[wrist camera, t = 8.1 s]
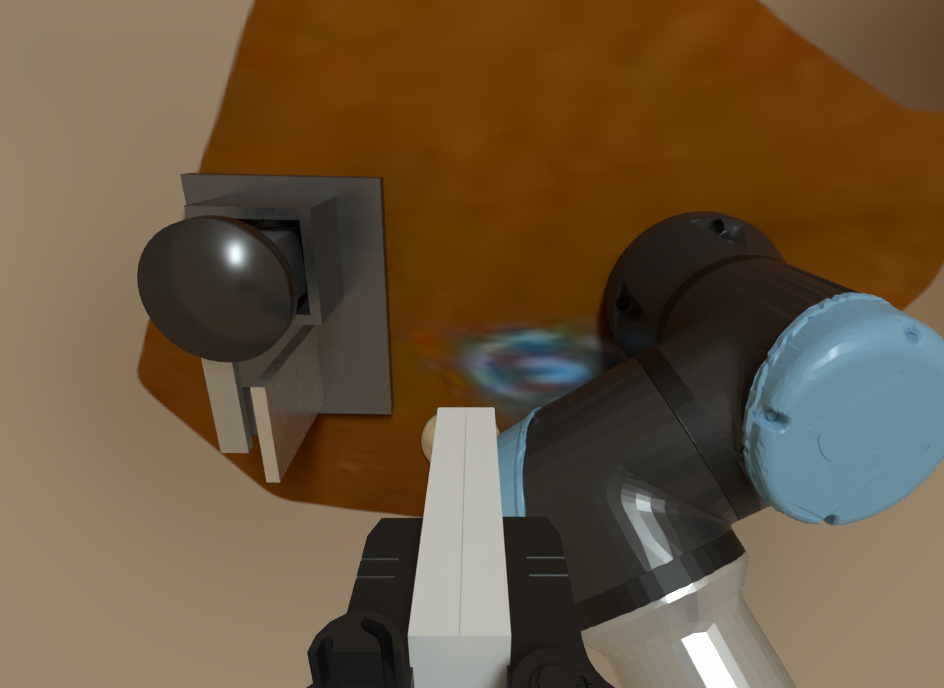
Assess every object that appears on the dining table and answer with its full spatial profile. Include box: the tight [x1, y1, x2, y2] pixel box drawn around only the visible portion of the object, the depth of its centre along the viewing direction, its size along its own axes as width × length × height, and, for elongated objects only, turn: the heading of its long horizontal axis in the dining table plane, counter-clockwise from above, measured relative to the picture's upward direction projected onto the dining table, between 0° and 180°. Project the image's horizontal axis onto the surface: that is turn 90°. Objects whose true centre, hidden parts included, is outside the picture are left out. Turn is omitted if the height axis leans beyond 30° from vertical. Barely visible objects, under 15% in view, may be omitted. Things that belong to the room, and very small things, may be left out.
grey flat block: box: [242, 387, 258, 435], centre depth 39 cm, size 2×4×1 cm, turn 179°
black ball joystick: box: [137, 215, 306, 453], centre depth 36 cm, size 9×17×9 cm, turn 179°
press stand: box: [181, 173, 394, 482], centre depth 39 cm, size 16×22×14 cm
